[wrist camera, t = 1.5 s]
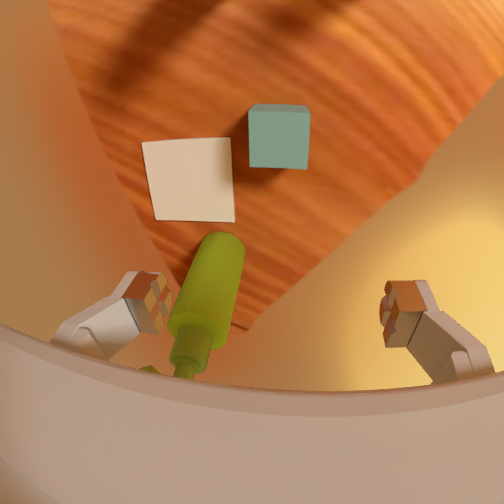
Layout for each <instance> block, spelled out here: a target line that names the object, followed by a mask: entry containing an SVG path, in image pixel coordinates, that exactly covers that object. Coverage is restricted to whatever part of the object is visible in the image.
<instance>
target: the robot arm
mask: <svg viewBox="0 0 504 504" xmlns="http://www.w3.org/2000/svg"><path fill="white" fill-rule="evenodd" d="M166 283H167V279H166V276H165V274H163V273H155V272H144V271H128V272H127V273H126V275H125V276H124V277H123V279H122V280H121V282H120V283H119V284H118V286H117V287H116V288H115V290H114V291H113V293H112V294H111V296H106V297H105V298H103V299H101V300H99V301H98V302H96V303H94V304H93V305H91V306H89V307H88V308H86V309H84V310H83V311H81V312H79V313H78V314H76V315H74V316H73V317H71V318H69V319H68V320H66V321H64V322H63V323H62V325H61V326H60V327H59V329H58V330H57V332H56V333H55V335H54V336H53V338H52V339H51V341H50V342H49V343H48V342H45V341H42V340H40V339H37V338H34V337H32V336H30V335H27V334H24V333H22V332H20V331H17V330H15V329H12V328H10V327H8V326H6V325H4V324H1V323H0V504H504V371H501V372H497V373H495V371H494V367H493V365H492V362H491V359H490V357H489V354H488V351H487V348H486V346H485V345H483V344H482V343H481V342H480V341H479V340H478V339H476V338H475V337H474V336H473V335H472V334H471V333H469V332H468V331H467V330H466V329H465V328H463V327H462V326H461V325H460V324H459V323H457V322H456V321H455V320H454V319H453V318H451V317H450V316H449V315H448V314H446V313H445V312H444V311H440V310H439V308H438V305H437V303H436V301H435V298H434V296H433V294H432V291H431V289H430V287H429V285H428V283H427V281H426V280H413V281H387V283H386V285H385V289H384V290H385V293H386V295H385V296H384V297H383V298H382V300H381V304H380V312H379V314H380V322H381V324H382V325H383V326H384V327H385V328H384V332H383V337H384V342H385V347H386V348H388V347H389V348H392V347H393V348H394V347H407V349H408V350H409V352H410V353H411V354H412V355H413V357H414V358H415V359H416V360H417V361H418V363H419V364H420V365H421V366H422V367H423V369H424V370H425V371H426V373H427V374H428V375H429V376H430V377H431V379H432V380H433V382H432V383H431V384H430V385H424V386H415V387H405V388H394V389H380V390H361V391H300V390H279V389H265V388H253V387H242V386H233V385H225V384H217V383H210V382H203V381H197V380H191V379H185V378H179V377H174V376H168V375H163V374H158V373H153V372H149V371H144V370H140V369H135V368H131V367H127V366H123V365H119V364H115V363H112V362H109V359H110V358H111V357H113V356H114V355H115V354H116V353H117V352H119V351H120V350H121V349H122V348H123V347H124V346H125V345H127V344H128V343H129V342H130V341H132V340H133V339H134V338H135V337H136V336H137V335H139V334H140V332H143V333H151V334H159V333H160V331H161V329H162V326H163V325H164V323H165V321H164V318H163V317H165V316H166V315H168V314H169V312H170V310H171V307H172V294H171V291H170V290H169V289H168V288H167V287H166V286H165V285H166Z"/></svg>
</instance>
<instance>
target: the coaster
mask: <svg viewBox="0 0 504 504" xmlns="http://www.w3.org/2000/svg"><path fill="white" fill-rule="evenodd" d="M142 149H143V155H144V161H145V167H146V173H147V178H148V183H149V189H150V194H151V199H152V204H153V209H154V214H155V218H156V220H179V221H211V222H235V207H234V189H233V170H232V150H231V137H212V138H188V139H172V140H159V141H148V142H142Z"/></svg>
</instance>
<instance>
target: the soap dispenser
mask: <svg viewBox="0 0 504 504" xmlns="http://www.w3.org/2000/svg"><path fill="white" fill-rule="evenodd" d="M245 256H246V251H245V247H244V245H243V243H242V242H241V241H240V240H239V239H238V238H237V237H236V236H234V235H232V234H230V233H226V232H213V233H210V234H208V235H207V236H206V237H204V239H203V240H202V242H201V244H200V246H199V249H198V251H197V253H196V255H195V258H194V260H193V262H192V265H191V267H190V269H189V271H188V274H187V276H186V279H185V281H184V283H183V286H182V288H181V290H180V293H179V295H178V298H177V300H176V302H175V305H174V308H173V310H172V312H171V315H170V317H169V320H168V323H167V327H168V330H169V332H170V334H171V335H172V336H173V337H174V338H175V342H174V345H173V348H172V351H171V354H170V357H169V360H170V362H171V364H172V365H173V366H175V367H176V369H175V372H174V377H179V378H185V379H191V380H193V377H194V374H196V373H202V372H203V371H205V369H206V366H207V362H208V358H209V354H210V350H216V349H219V348H221V347H222V346H224V345H225V343H226V341H227V337H228V332H229V328H230V323H231V319H232V314H233V310H234V305H235V301H236V296H237V292H238V287H239V283H240V278H241V274H242V269H243V265H244V260H245ZM140 370H144V371H149V372H153V373H158V374H160V373H159V372H158V371H157V370H156V369H155V368H154V367H153V366H146V367H143V368H140Z"/></svg>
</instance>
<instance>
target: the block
mask: <svg viewBox="0 0 504 504" xmlns="http://www.w3.org/2000/svg"><path fill="white" fill-rule="evenodd" d="M248 121H249V162H250V167H268V168H291V169H307V166H308V149H309V129H310V112H309V110H308V108H307V106H304V105H284V104H254V106H253V107H252V108H251V109H250V110H249V111H248Z"/></svg>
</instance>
